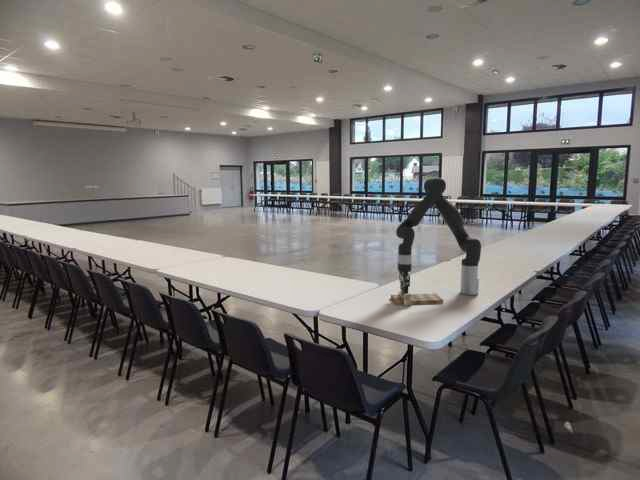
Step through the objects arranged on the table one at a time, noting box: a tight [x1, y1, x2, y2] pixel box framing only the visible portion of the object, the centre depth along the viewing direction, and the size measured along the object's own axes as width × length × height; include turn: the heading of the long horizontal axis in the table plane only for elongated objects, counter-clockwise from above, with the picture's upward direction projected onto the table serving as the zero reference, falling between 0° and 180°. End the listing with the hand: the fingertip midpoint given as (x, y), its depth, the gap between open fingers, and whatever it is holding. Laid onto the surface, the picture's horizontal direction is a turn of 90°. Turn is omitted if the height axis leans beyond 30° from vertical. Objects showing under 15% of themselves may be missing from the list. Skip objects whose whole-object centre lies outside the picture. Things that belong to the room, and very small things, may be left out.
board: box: [390, 293, 444, 306], centre depth 227 cm, size 26×12×2 cm, turn 93°
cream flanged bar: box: [397, 283, 413, 306], centre depth 225 cm, size 4×15×10 cm, turn 3°
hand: (404, 291), depth 226 cm, fingers open, 7 cm apart
